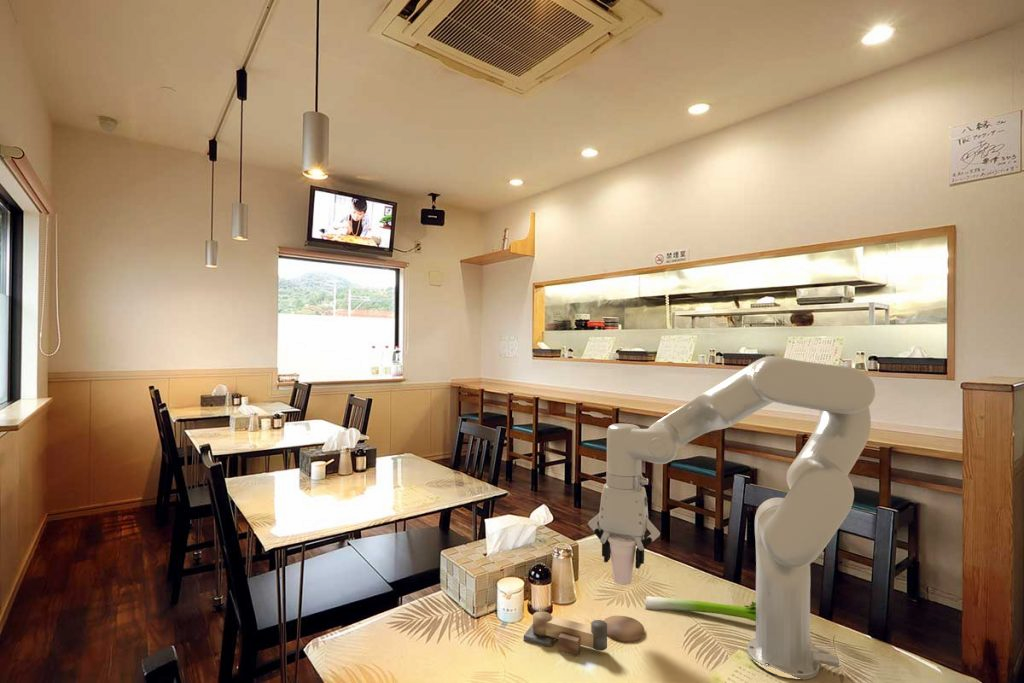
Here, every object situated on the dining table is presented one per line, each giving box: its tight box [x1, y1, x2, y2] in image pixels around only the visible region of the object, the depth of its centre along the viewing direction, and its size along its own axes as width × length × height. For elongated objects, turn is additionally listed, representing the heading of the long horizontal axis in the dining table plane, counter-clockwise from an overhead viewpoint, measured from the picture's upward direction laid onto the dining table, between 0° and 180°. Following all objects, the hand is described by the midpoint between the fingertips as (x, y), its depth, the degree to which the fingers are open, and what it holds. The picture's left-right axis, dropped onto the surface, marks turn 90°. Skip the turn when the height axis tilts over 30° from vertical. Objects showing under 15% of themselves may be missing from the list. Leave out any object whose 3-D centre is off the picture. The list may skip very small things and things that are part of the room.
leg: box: [532, 610, 608, 652], centre depth 106 cm, size 16×4×4 cm, turn 64°
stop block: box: [557, 632, 581, 658], centre depth 104 cm, size 4×2×3 cm, turn 65°
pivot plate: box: [523, 623, 557, 648], centre depth 109 cm, size 6×6×1 cm
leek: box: [645, 595, 756, 622], centre depth 117 cm, size 6×7×30 cm
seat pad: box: [603, 615, 645, 643], centre depth 112 cm, size 9×9×1 cm
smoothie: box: [608, 533, 637, 586], centre depth 112 cm, size 6×6×14 cm
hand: (622, 562), depth 112 cm, fingers closed on smoothie, 6 cm apart
